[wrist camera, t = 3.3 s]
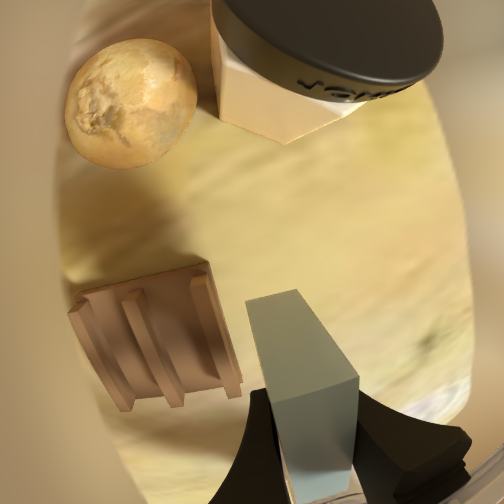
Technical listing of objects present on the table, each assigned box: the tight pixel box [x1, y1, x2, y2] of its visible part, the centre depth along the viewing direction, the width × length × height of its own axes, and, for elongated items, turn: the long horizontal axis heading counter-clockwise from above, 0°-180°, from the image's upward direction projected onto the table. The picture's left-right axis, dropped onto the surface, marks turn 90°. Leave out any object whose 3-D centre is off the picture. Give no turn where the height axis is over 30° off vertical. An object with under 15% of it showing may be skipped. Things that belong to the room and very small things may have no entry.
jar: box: [210, 0, 444, 145], centre depth 11 cm, size 9×8×12 cm
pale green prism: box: [245, 289, 359, 504], centre depth 11 cm, size 8×2×6 cm, turn 11°
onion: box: [64, 38, 198, 169], centre depth 12 cm, size 8×8×7 cm
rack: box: [67, 262, 243, 412], centre depth 18 cm, size 10×10×3 cm
